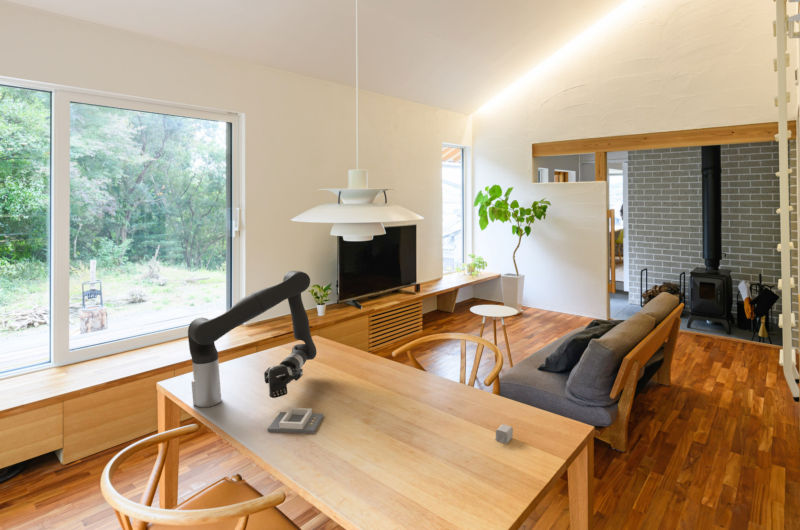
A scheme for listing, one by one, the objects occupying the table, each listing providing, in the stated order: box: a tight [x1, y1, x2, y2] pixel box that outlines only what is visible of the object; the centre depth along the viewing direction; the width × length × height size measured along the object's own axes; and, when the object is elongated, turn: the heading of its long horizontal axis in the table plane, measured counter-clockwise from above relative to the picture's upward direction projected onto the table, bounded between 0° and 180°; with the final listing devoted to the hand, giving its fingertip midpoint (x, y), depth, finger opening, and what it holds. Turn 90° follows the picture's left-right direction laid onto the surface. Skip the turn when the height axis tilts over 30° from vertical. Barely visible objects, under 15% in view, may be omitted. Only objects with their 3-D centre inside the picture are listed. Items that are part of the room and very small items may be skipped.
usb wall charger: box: [494, 424, 514, 445], centre depth 144 cm, size 4×7×4 cm, turn 145°
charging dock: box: [267, 407, 324, 435], centre depth 157 cm, size 16×12×3 cm
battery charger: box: [267, 364, 288, 399], centre depth 168 cm, size 7×4×11 cm, turn 131°
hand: (276, 381), depth 165 cm, fingers closed on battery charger, 7 cm apart
